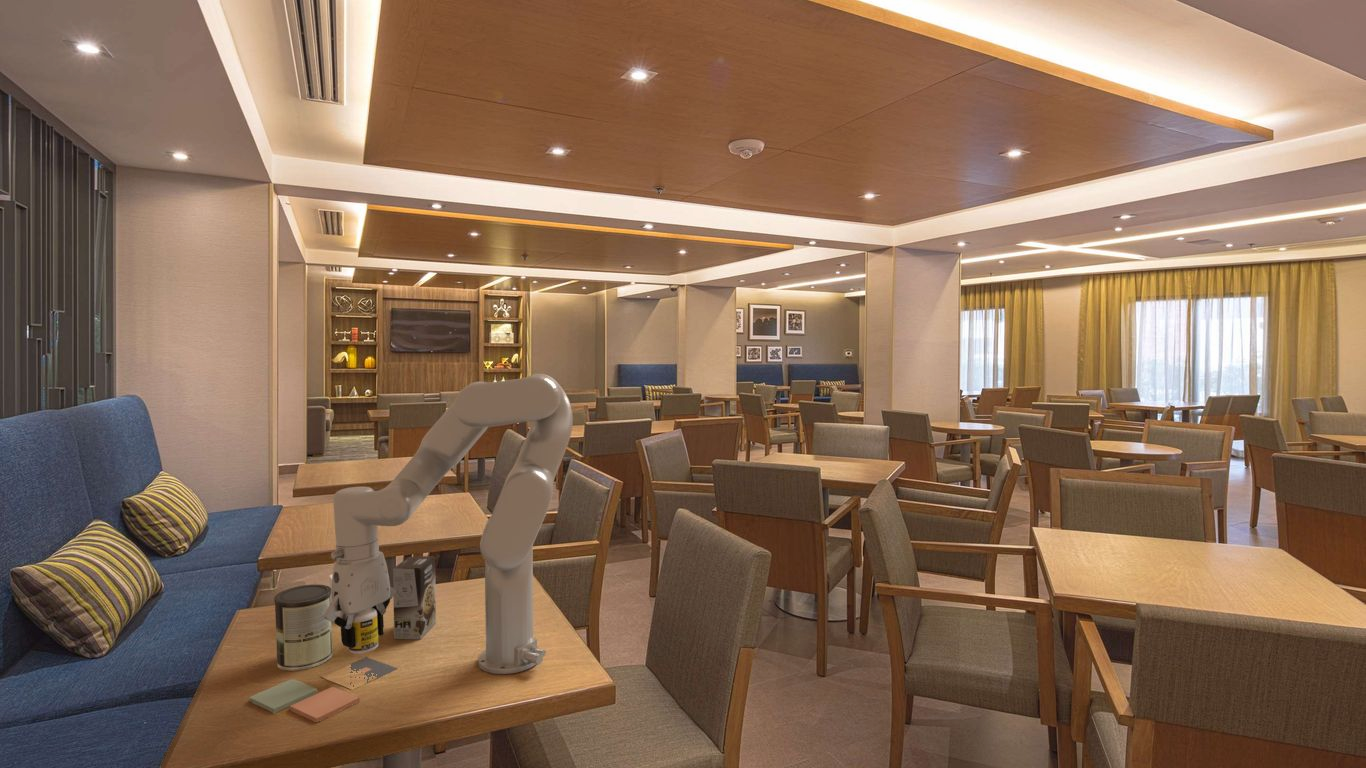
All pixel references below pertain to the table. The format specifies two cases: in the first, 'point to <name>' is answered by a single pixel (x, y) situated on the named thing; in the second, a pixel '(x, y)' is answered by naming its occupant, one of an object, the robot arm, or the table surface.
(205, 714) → the table surface
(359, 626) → the supplement bottle
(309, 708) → the pad terracotta
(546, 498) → the robot arm
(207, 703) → the table surface
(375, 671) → the tile
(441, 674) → the table surface
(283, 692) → the pad sage
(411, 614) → the coffee box
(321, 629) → the coffee can
